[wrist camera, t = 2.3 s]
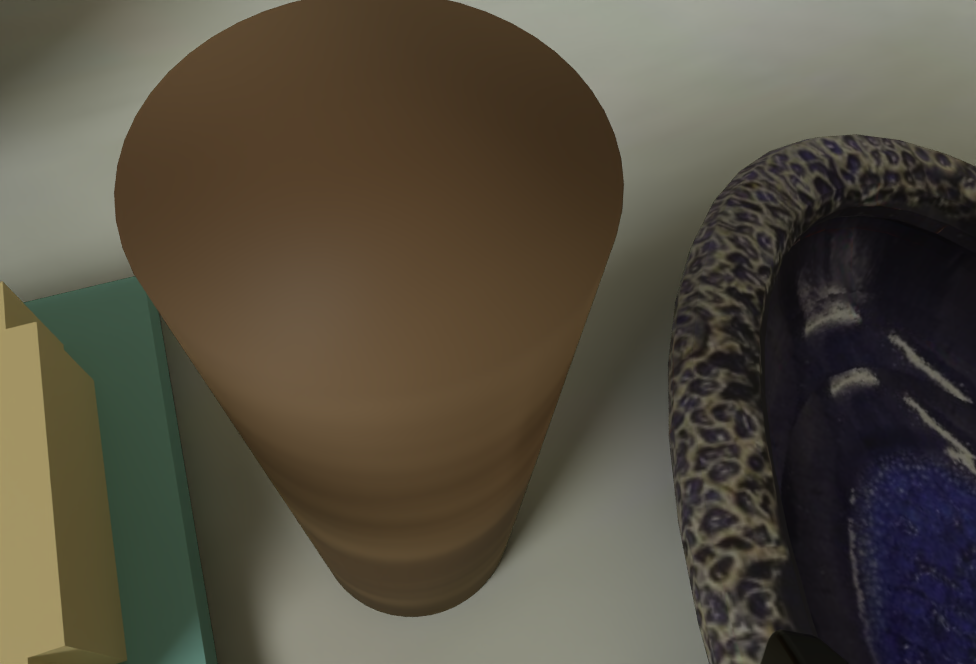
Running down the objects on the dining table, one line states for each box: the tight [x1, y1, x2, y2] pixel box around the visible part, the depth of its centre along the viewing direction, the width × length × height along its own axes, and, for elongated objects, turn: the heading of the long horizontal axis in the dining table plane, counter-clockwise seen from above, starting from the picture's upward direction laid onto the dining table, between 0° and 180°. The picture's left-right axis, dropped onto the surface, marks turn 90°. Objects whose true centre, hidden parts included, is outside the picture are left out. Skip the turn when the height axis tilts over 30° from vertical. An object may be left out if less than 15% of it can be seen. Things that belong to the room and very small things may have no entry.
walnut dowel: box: [114, 0, 624, 617], centre depth 13 cm, size 5×5×13 cm
